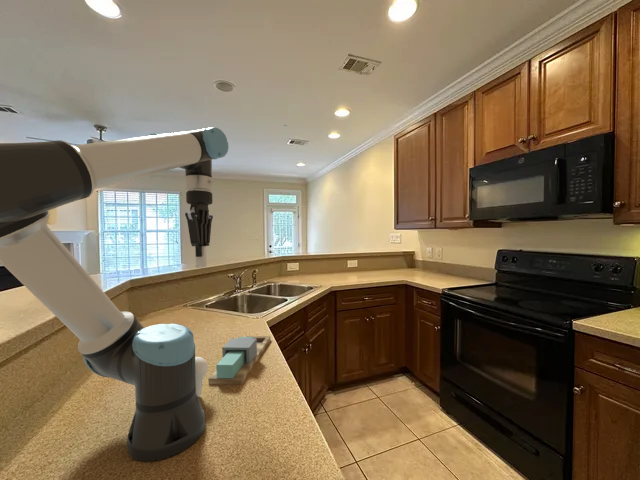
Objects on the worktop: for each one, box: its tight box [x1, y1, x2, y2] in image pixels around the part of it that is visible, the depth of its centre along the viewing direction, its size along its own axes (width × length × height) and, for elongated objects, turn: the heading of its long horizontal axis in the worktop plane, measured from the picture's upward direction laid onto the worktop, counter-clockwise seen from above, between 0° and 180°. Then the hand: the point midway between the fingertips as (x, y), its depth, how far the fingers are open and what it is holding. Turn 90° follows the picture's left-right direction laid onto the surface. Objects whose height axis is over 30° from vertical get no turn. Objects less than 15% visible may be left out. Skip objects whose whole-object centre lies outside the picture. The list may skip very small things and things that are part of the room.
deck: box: [208, 335, 272, 386], centre depth 100 cm, size 34×10×2 cm, turn 176°
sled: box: [215, 336, 253, 378], centre depth 93 cm, size 19×5×5 cm, turn 176°
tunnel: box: [221, 337, 257, 365], centre depth 96 cm, size 8×9×6 cm
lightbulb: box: [195, 356, 209, 398], centre depth 77 cm, size 6×6×11 cm
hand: (201, 267), depth 88 cm, fingers closed
